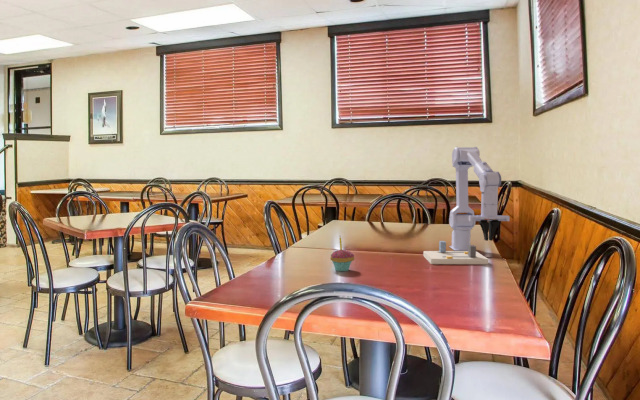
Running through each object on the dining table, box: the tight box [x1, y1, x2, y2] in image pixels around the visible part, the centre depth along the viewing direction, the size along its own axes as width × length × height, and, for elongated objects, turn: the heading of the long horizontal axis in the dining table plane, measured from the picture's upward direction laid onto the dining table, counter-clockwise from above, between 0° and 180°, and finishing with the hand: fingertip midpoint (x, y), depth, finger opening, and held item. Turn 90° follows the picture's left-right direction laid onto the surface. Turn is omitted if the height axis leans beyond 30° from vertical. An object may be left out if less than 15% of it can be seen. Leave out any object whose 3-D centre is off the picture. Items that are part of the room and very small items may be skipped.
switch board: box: [422, 250, 489, 265], centre depth 178 cm, size 15×21×3 cm
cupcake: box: [330, 236, 356, 272], centre depth 162 cm, size 9×8×12 cm
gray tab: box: [468, 244, 477, 257], centre depth 174 cm, size 3×2×4 cm, turn 178°
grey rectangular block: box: [438, 240, 447, 252], centre depth 183 cm, size 3×2×4 cm, turn 178°
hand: (488, 240), depth 173 cm, fingers closed
